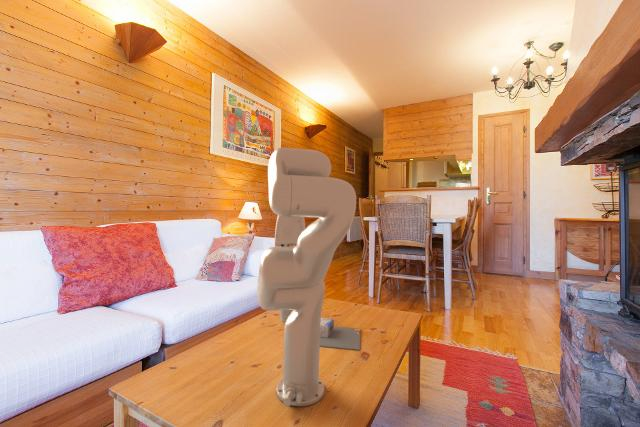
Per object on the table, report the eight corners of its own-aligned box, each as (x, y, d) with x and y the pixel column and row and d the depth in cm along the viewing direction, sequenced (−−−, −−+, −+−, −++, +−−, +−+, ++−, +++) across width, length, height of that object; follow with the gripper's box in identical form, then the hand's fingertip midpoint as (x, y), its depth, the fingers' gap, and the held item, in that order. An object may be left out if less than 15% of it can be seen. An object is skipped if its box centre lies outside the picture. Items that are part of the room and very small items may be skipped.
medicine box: (328, 326, 109) (306, 322, 112) (328, 338, 109) (306, 334, 112) (334, 319, 117) (313, 315, 119) (333, 330, 117) (313, 326, 119)
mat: (359, 350, 101) (359, 349, 101) (297, 344, 104) (297, 343, 104) (360, 329, 119) (360, 328, 119) (307, 324, 122) (307, 323, 122)
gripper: (267, 210, 100) (265, 264, 100) (310, 211, 97) (308, 266, 98) (274, 210, 107) (272, 260, 107) (314, 211, 105) (312, 262, 105)
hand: (289, 263), depth 102 cm, fingers closed
